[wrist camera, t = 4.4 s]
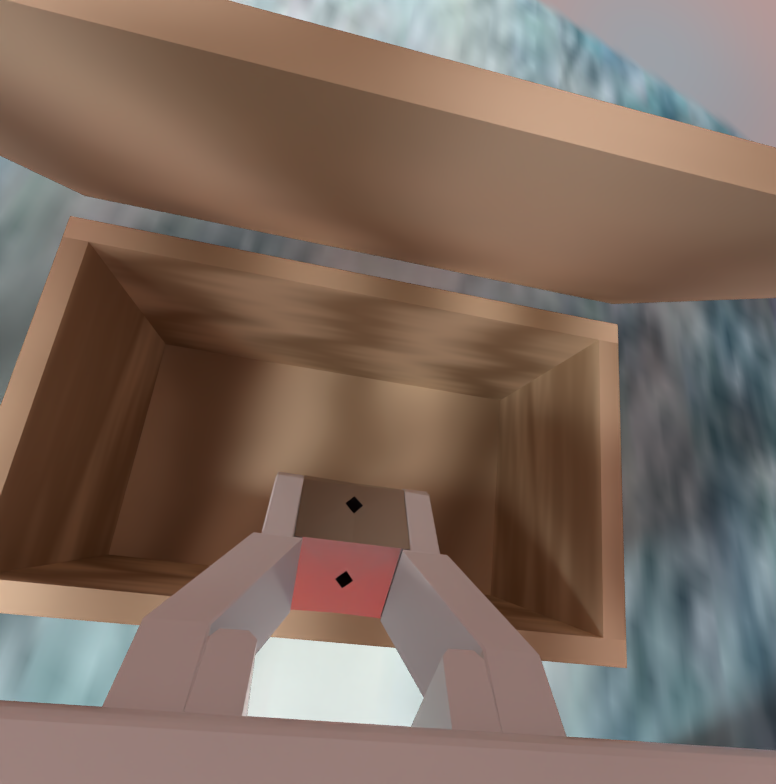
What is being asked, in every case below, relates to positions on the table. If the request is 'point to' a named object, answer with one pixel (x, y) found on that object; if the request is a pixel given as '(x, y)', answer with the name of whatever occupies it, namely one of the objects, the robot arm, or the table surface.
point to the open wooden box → (303, 433)
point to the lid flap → (381, 150)
